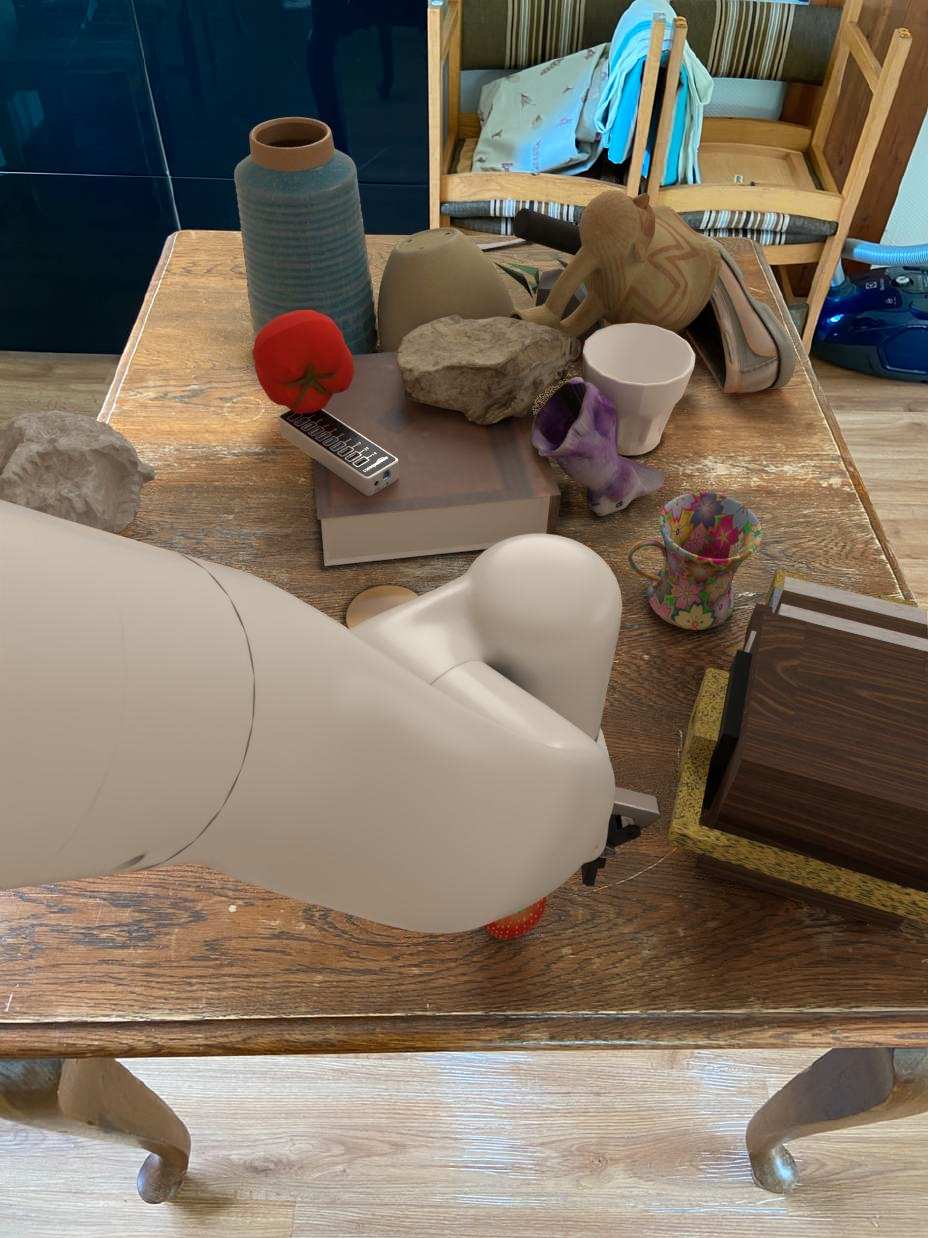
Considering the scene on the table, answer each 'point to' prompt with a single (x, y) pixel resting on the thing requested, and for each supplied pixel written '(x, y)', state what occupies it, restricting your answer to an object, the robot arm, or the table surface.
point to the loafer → (741, 336)
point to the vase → (304, 230)
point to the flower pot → (437, 284)
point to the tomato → (302, 360)
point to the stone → (71, 469)
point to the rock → (483, 365)
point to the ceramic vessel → (632, 269)
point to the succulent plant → (545, 288)
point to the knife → (498, 244)
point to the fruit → (517, 922)
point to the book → (431, 476)
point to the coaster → (376, 602)
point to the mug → (699, 558)
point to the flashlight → (547, 231)
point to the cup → (638, 379)
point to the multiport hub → (340, 450)
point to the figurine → (591, 447)
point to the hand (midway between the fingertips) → (516, 868)
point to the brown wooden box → (816, 755)
